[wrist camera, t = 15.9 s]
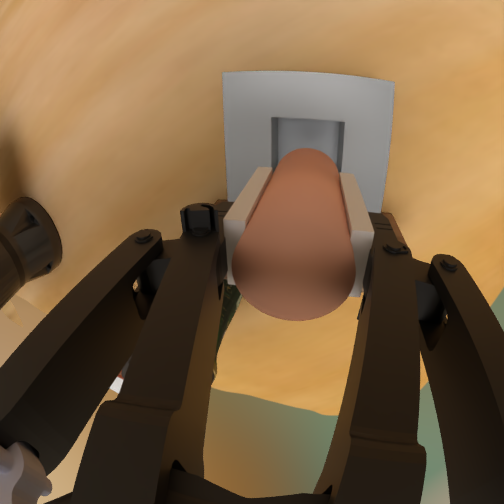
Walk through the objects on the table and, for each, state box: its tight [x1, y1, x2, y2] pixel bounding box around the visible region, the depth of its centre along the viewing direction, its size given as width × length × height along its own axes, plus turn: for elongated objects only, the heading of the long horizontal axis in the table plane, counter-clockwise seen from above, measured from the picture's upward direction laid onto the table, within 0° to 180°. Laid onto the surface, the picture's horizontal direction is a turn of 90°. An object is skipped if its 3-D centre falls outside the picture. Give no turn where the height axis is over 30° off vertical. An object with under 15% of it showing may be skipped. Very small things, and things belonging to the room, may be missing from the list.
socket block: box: [222, 71, 395, 213], centre depth 26 cm, size 14×14×6 cm
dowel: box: [231, 148, 356, 321], centre depth 14 cm, size 4×4×10 cm
